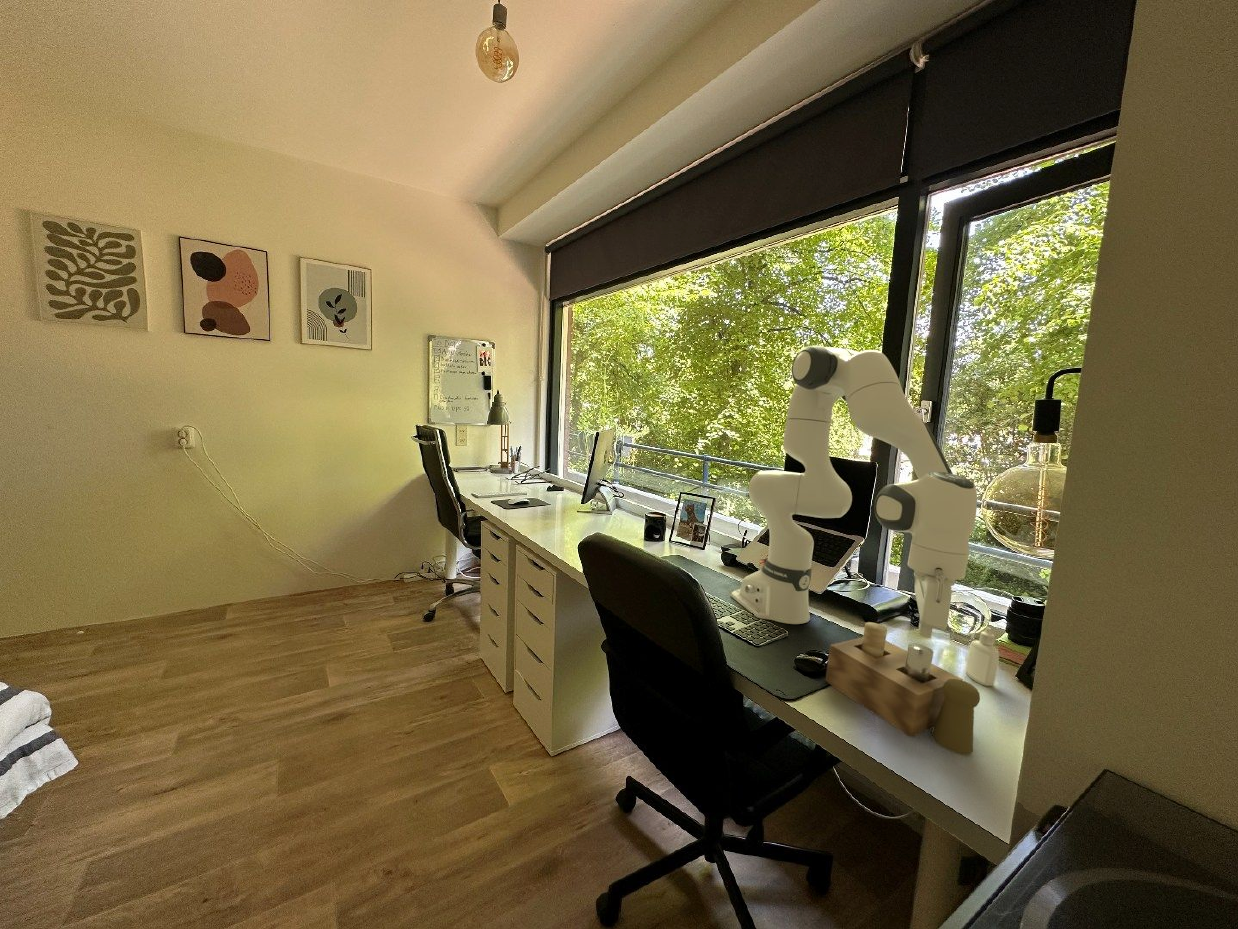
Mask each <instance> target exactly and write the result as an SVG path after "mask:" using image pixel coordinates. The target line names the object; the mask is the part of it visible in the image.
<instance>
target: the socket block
mask: <svg viewBox="0 0 1238 929" xmlns="http://www.w3.org/2000/svg"><path fill="white" fill-rule="evenodd" d="M862 640H863V636H862V637H857V638H854V639H848V640H845V641H841V642H836V643H832V644H830V646H829V653H828V659H827V666H826V672H825V680H826V681H827V682H828V683H827V682H826V681H825V682H826V683H827V684H829V685H830V686H832V687H833V688H835V689H836V690H838V691H840V692H841V693H842V694H845V695H846V696H847V697H848V698H850V699H852V700H853V701H855V702H856V703H858V704H860V705H861V706H863V707H864V708H866V709H867V710H868V711H870V712H871V713H873V714H875V715H876V716H878V717H879V718H881V719H883V720H884V721H885V722H887V723H888V724H890V725H891V726H893V727H894V728H896V729H898V730H899V731H900V732H902V733H904V734H905V735H907V736H908V737H910V738H913V737H915V736H918V735H920V734H923V733H926V732H927V731H929V730H933V728H934V725H935V723H936V720H937V717H938V715H939V712H940V709H941V707H942V704H943V701H944V699H945V696H944V694H943V685H944V683H945V682H946V681H947V680H948V679H959V680H962V681H964V680H963V678H962V677H959V676H958V675H955V674H953V673H951V672H949V671H948V670H945V669H943V668H941V667H939V666H937V665H935V664H933V663H932V664H931V669H930V675H929V680H928V682H925V683H920V682H918V681H916V680H915V679H913V678H911V677H909V676H907V675H906V674H904V668H905V662H906V656H907V651H908V650H905V649H903V648H901V647H899V646H898V645H896V644H894V643H891V642H889V641H887V640H885V647H884V653H883V657H879V658H874V657H873V656H871V655H869V654H867V653H865V652H863V651H862V650H861V647H862Z"/></svg>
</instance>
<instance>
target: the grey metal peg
mask: <svg viewBox="0 0 1238 929" xmlns="http://www.w3.org/2000/svg"><path fill="white" fill-rule="evenodd" d="M906 651H907V656H906V662H905V668H904V674H906V675H907V676H909V677H911V678H913V679H915V680H916V681H918V682H920V683H925V682H928V680H929V675H930V669H931V664H933V659H934V658H933V656H934V650H933V649H932V648H930V647H929V646H926V645H924V644H920V643H914V642H911V643H908V646H907V650H906Z"/></svg>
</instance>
